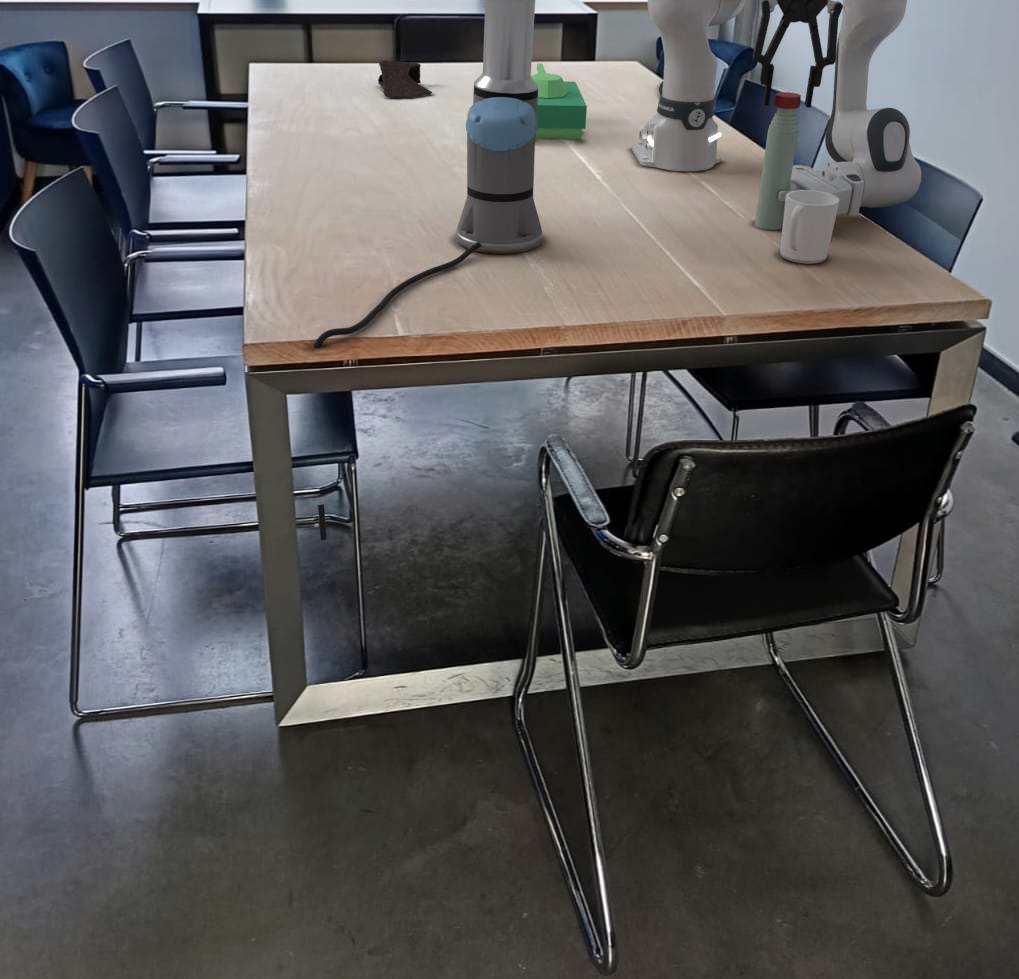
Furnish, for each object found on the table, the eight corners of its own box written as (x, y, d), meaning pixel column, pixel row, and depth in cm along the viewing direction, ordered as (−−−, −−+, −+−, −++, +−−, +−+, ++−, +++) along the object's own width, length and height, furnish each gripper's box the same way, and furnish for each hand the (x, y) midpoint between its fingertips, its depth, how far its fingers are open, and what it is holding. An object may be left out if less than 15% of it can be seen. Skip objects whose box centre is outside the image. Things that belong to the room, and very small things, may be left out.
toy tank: (573, 59, 279) (587, 89, 249) (570, 109, 285) (584, 143, 255) (503, 58, 278) (510, 87, 248) (502, 108, 284) (508, 142, 254)
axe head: (443, 87, 294) (392, 77, 287) (436, 115, 299) (385, 106, 292) (421, 62, 307) (371, 52, 300) (414, 89, 311) (365, 80, 304)
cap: (802, 109, 193) (804, 97, 192) (777, 109, 193) (779, 97, 192) (795, 103, 197) (797, 92, 196) (771, 103, 197) (772, 92, 196)
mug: (791, 244, 197) (800, 186, 191) (837, 255, 192) (848, 197, 187) (762, 259, 190) (770, 200, 184) (809, 271, 185) (819, 211, 179)
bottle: (762, 230, 204) (780, 101, 191) (750, 221, 208) (767, 94, 196) (788, 229, 205) (808, 100, 192) (776, 220, 209) (794, 94, 197)
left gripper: (750, -38, 180) (732, 106, 192) (871, -34, 179) (845, 112, 191) (746, -43, 187) (730, 97, 199) (863, -39, 185) (839, 102, 197)
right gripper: (813, 155, 213) (748, 158, 209) (868, 184, 196) (798, 188, 193) (808, 187, 216) (743, 191, 213) (861, 219, 199) (792, 223, 196)
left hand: (786, 104), depth 195 cm, fingers open, 7 cm apart
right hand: (770, 190), depth 203 cm, fingers closed on bottle, 5 cm apart
